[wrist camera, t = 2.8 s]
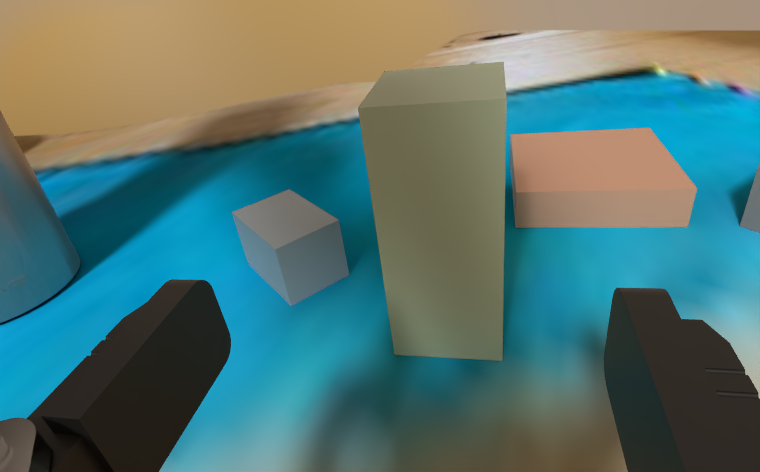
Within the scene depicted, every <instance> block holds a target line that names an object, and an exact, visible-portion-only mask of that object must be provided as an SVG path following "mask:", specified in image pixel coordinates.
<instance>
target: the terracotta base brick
mask: <svg viewBox="0 0 760 472" xmlns="http://www.w3.org/2000/svg"><path fill="white" fill-rule="evenodd" d="M510 169H511V181H512V194H513V206H514V218H515V228H588V227H688V224H689V220H690V216H691V212H692V208H693V204H694V199H695V195H696V191H697V187H696V186H695V185H694V184H693V182H692V181H691V180H690V179H689V177H688V176H687V175H686V173H685V172H684V171H683V170H682V168H681V167H680V166H679V165H678V163H677V162H676V161H675V159H674V158H673V157H672V156H671V154H670V153H669V152H668V151H667V149H666V148H665V147H664V145H663V144H662V143H661V142H660V140H659V139H658V138H657V137H656V135H655V134H654V133H653V131H652V130H651V129H650V128H635V129H615V130H594V131H574V132H553V133H533V134H512V135H511V143H510Z"/></svg>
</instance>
